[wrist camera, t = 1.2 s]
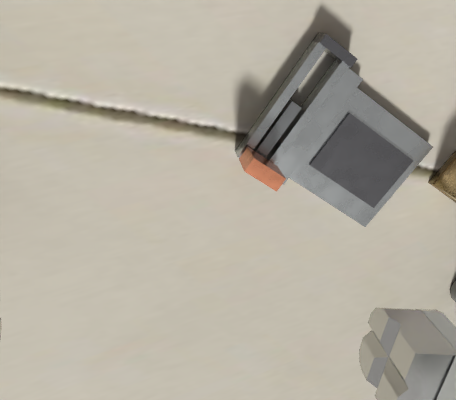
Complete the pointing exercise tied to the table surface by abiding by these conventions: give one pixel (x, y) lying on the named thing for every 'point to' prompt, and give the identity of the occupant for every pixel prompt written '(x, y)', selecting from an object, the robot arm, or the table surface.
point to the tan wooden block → (446, 178)
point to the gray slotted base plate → (339, 138)
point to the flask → (453, 291)
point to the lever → (269, 149)
